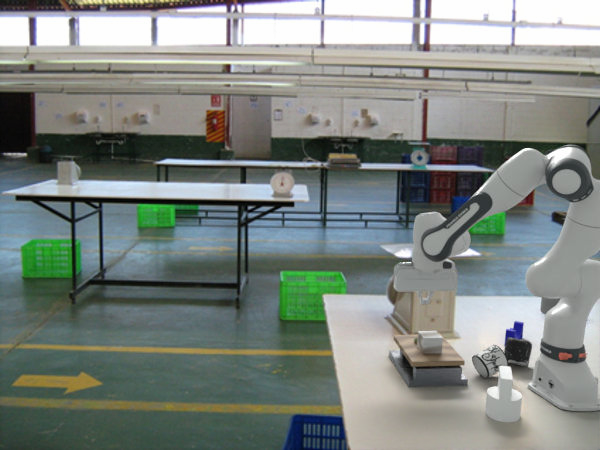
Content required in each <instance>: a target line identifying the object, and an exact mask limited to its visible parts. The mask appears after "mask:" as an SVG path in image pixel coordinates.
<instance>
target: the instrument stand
mask: <svg viewBox="0 0 600 450" xmlns="http://www.w3.org/2000/svg"><path fill="white" fill-rule="evenodd" d="M388 357H389V358H390V360H391V361H392V363H393V364H394V366H395V368H396V369H397V371H398V374H400V377H402V379H403V381H404V382H405V384H406V385H407V387H408V388H429V387H430V388H431V387H435V388H436V387H459V386H460V387H461V386H462V387H463V386H468V380H469V379H468V377H467V376H466V375H465V374H464V373H463V368H462V367H463V366H462V365H459V366H420V367H412V366H411V364H410V363H409V361H408V360H407V359H406V357H405V356H404V354H403V353H402V351H401V350H400V349H394V350H391V349H389V352H388Z"/></svg>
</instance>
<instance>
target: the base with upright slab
mask: <svg viewBox="0 0 600 450" xmlns="http://www.w3.org/2000/svg"><path fill="white" fill-rule="evenodd" d="M513 378H514V377H513V372H512V367H511V366H509V365H508V366H499V372H498V380H497V381H498V382H497V386H496V385H495V386H491V387H488V388H487V390H486V397H485V398H486V399H485V409H484V411H485V412H484V413H485V415H487V417H489V418H491V419H492V420H495V421H497V422H501V423H514V422H515V421H516V422H517V421H519V420H520V419H521V412H522V402H523V401H522V399H523V395H522V393H521V392H520V391H519V390H518V389H517V390H516V389H514V388H513V381H514V379H513Z"/></svg>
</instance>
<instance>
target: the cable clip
mask: <svg viewBox="0 0 600 450" xmlns="http://www.w3.org/2000/svg"><path fill="white" fill-rule="evenodd" d="M524 324H525V322H524V321H523V322H522V321H518V320H515V321H514V322H513V327H510V328H506V329H505V334H504V335H505V336H504V345H505V344H506V340H507V338H508V337H511V338H517V339H519V340H520V339H522V340H523V335H524Z"/></svg>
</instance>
